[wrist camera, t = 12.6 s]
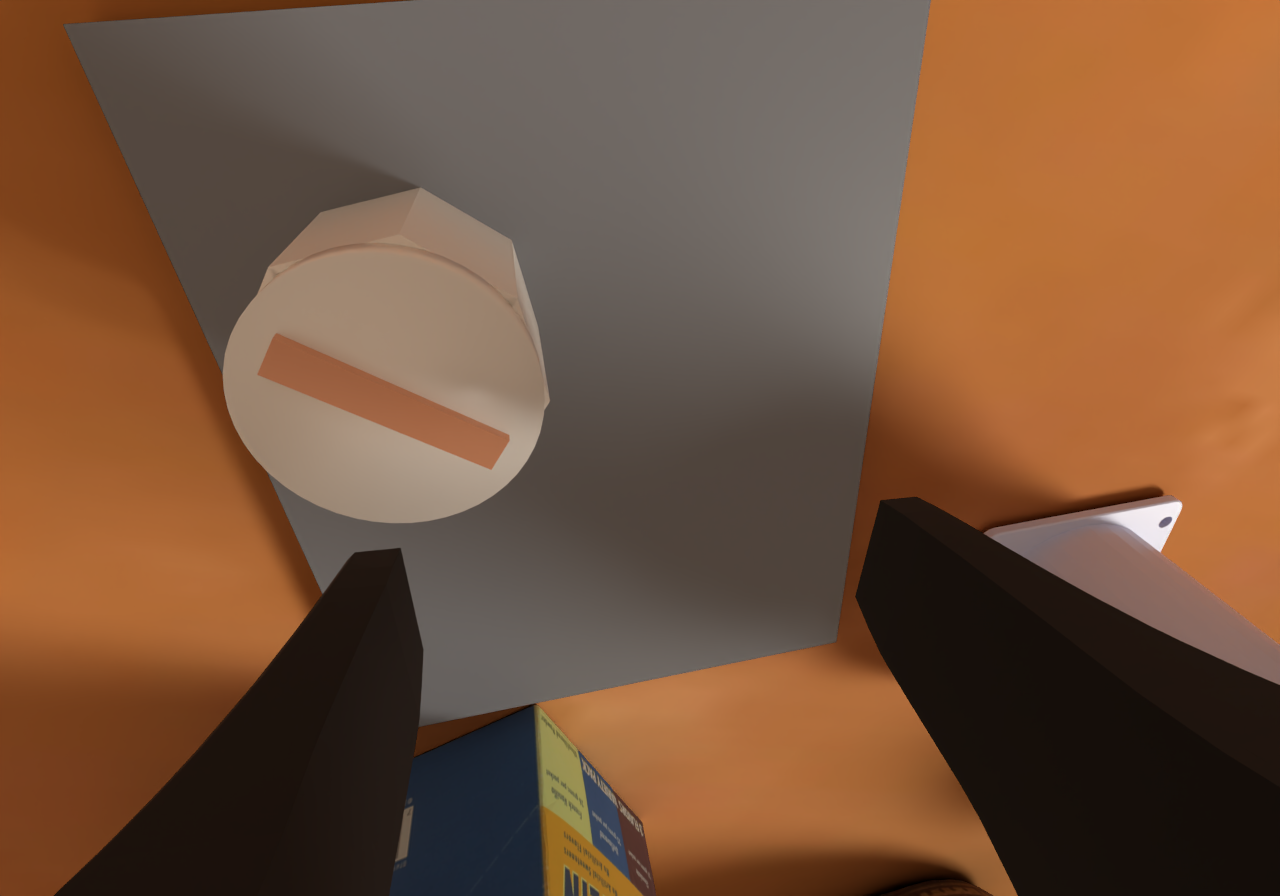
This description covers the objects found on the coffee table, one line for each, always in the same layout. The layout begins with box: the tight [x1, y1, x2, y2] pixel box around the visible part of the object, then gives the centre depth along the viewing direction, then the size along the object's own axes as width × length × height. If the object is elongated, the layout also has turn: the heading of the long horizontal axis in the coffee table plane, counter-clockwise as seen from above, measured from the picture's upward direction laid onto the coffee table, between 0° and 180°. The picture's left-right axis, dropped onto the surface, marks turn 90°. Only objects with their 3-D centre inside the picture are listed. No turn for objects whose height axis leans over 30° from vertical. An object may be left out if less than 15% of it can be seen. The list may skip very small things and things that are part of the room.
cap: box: [223, 187, 550, 523], centre depth 13 cm, size 5×5×5 cm
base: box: [63, 0, 931, 727], centre depth 16 cm, size 20×16×4 cm
